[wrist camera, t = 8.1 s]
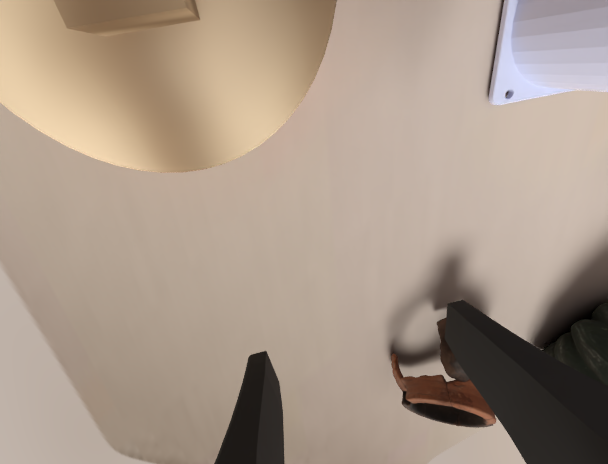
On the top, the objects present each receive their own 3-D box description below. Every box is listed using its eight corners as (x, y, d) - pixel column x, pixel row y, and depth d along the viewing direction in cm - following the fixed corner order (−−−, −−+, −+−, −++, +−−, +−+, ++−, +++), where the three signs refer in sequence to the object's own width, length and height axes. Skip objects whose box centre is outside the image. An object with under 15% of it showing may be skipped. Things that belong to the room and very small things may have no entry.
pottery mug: (484, 348, 31) (497, 439, 26) (393, 334, 34) (388, 413, 29) (521, 289, 23) (551, 408, 17) (394, 278, 26) (388, 376, 20)
